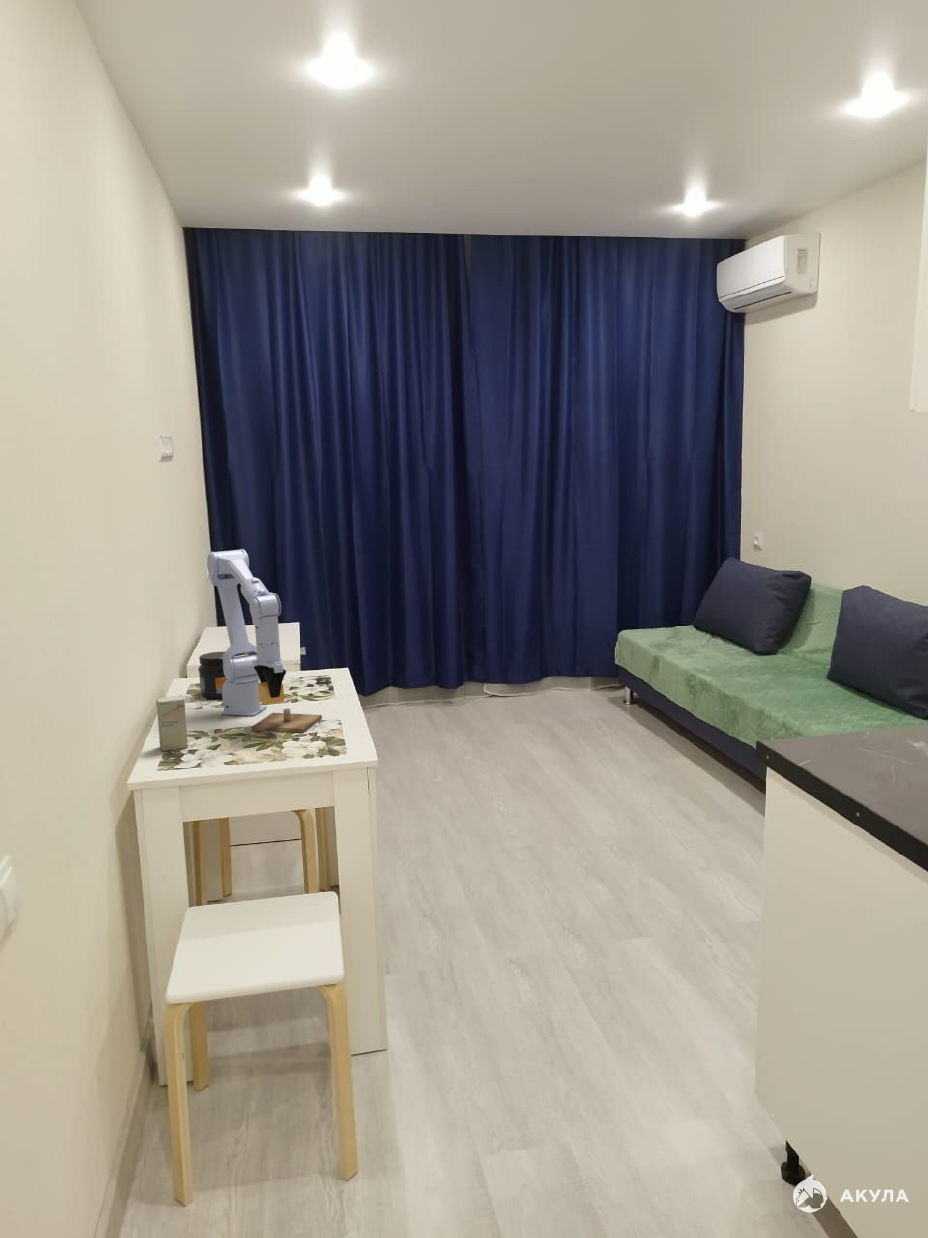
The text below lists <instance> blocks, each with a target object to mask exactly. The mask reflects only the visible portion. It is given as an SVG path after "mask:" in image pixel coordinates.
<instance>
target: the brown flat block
mask: <svg viewBox="0 0 928 1238" xmlns="http://www.w3.org/2000/svg"><path fill="white" fill-rule="evenodd" d="M322 719H323V715H322V714H311V713H310V714H307V713H306V714H305V713H291V708H283V711H282V712H271V713H269V714H268V715H267V716H266V717H264V718H262V719H261V720H260V721H258V722H257V723H255V724H253V725H252V726H251V730H252V731H257V732H258V731H260V732H262V731H263V732H275V733H276V732H280V733H299V734H304V733H305V732H307V731H308V730H309V729H310V728H312V727H313V726H315V725H316V724H317V723H318V722H320V721H321V720H322Z"/></svg>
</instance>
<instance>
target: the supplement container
mask: <svg viewBox="0 0 928 1238" xmlns="http://www.w3.org/2000/svg"><path fill="white" fill-rule="evenodd" d="M224 653H225V651H214V652H213V651H212V652H207V653H204V654H201V655H200V656H198V658H199V664H200V665H199V666H198V673H199V674H198V675H199V676H198V677H199V685H200V695H201V697H202V698H204V699H206V700H223V697H222V687H223V684H224V682H225V681H226V680H227V678H226V677H225V674H224V670H223V654H224ZM232 658H233V657H232Z"/></svg>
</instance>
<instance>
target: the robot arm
mask: <svg viewBox="0 0 928 1238" xmlns="http://www.w3.org/2000/svg"><path fill="white" fill-rule="evenodd" d="M249 559H250V558H249V555H248V553H247V551H246V550H245V549H244V548H240V549H233V550H224V551H223V550H222V551H211V552H209V553H208V556H207V560H206V568H207V570H208V576H209V580H210V582H211V584H212V585H213V586H215V587H217V590H218V595H219V597H220V602H221V607H222V608H221V609H222V612H223V617H224V621H225V625H226V630H227V631H226V632H227V635H228V640H229V644H230V645H229V647H228V648H227V649H226V650H225V651H224V652H225V653H224V654H223V670H224V674H225V677H226V678H227V680H226V681H225V682H224V684H223V687H222V697H223V699H222V707H223V708H222V709H223V712H222V714H223V715H229V716H230V715H231V716H232V715H235V716H251V717H253V716H256V715H258V714H259V713H260V712H262V711H264V710H265V709H266V708H268V707H267V706H268V705H261V701H259V694H258V683H262V682H267V684H268V688H269V693H270V696H271V698H275V697H279V696H280V691H281V685H282V684H283V680H284V678H285V676H286V675H287V670H286V669H285V668H284V667H283V663H282V658H281V648H280V646H281V645H280V632H279V631H280V630H279V618H278V617H280V616H281V613H282V604H281V603H282V602H281V600H280V597H279V595H278V594H277V593H273V592H269V590H268V589H267V588H266V586H265V585H264V583H263V582H262V581H261V579H260V578H257V577H254V576H253V574H252V572H251V570H250V568H249V567H250V560H249ZM238 584H240V593H241V594H242V595H243V597H244V599H245V600H246V601H247V603H248V604H249V612H250V613H249V614H250V615H251V620H252V625H253V626H254V631H255V643H256V644H253V643H251V642H249V636H248V633H247V628H246V627H247V626H246V624H245V619H244V614H243V610H242V605H241V600H240V595H239V591H238V588H237V587H238ZM232 657H233V658H232ZM259 681H260V682H259Z"/></svg>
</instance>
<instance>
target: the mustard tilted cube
mask: <svg viewBox="0 0 928 1238" xmlns="http://www.w3.org/2000/svg"><path fill="white" fill-rule="evenodd" d="M258 694H259V701H260V703H262V704H263V705H264V706H268V705H272V704H279V703H284V702H285V690H284V684H283V683H282V685H281V691H280V696H279V697H275V698H271V696H270V693H269V688H268V684H267V682H262V683H261V682H259V683H258Z"/></svg>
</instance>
